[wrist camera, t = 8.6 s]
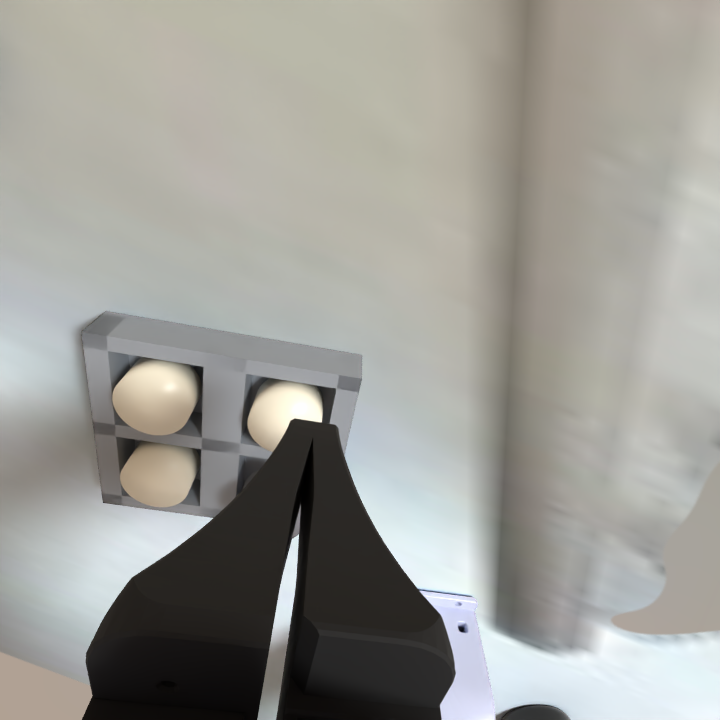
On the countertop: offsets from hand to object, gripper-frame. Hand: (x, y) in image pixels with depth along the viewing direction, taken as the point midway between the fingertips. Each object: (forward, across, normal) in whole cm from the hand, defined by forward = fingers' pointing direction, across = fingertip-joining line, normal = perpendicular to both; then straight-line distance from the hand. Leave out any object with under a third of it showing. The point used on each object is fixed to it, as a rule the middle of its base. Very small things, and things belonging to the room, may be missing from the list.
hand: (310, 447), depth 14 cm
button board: (+10, +4, +8) cm, 14 cm away
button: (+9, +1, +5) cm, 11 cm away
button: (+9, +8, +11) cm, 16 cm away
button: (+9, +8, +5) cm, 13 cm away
